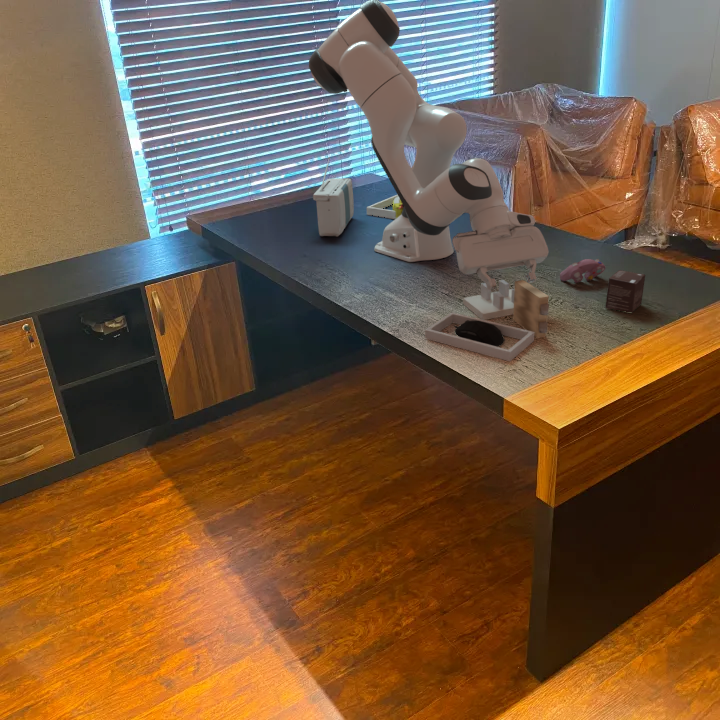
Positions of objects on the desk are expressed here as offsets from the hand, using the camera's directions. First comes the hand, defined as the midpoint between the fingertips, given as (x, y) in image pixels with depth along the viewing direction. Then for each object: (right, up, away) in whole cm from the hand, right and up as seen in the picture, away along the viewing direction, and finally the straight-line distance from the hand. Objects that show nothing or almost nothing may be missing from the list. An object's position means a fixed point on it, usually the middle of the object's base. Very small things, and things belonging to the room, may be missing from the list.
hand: (512, 284), depth 151 cm
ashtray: (-14, +32, +81) cm, 89 cm away
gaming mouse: (-9, -11, -2) cm, 14 cm away
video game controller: (+21, +3, +21) cm, 30 cm away
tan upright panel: (+3, -9, -1) cm, 10 cm away
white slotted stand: (-1, -4, +10) cm, 10 cm away
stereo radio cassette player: (-40, +25, +71) cm, 85 cm away
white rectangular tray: (-14, +33, +81) cm, 89 cm away
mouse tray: (-8, -12, -5) cm, 15 cm away
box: (+26, -4, +6) cm, 27 cm away
